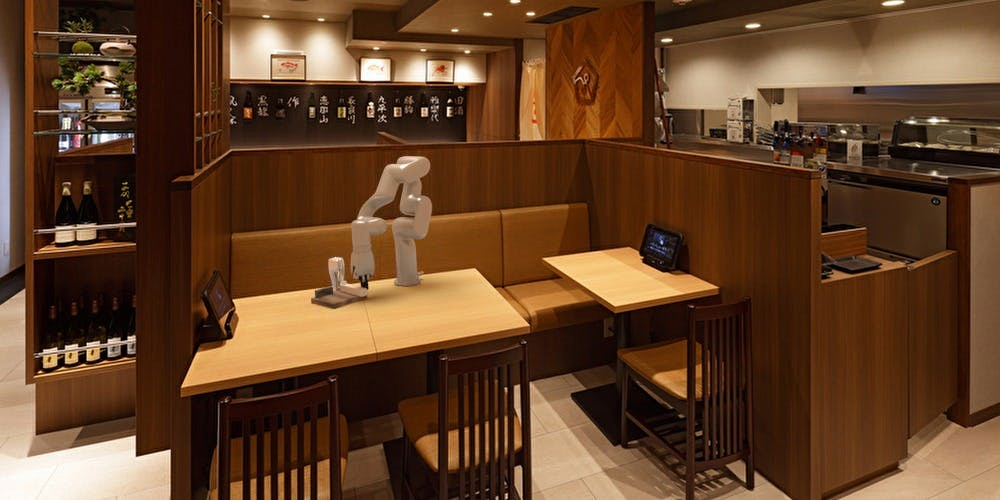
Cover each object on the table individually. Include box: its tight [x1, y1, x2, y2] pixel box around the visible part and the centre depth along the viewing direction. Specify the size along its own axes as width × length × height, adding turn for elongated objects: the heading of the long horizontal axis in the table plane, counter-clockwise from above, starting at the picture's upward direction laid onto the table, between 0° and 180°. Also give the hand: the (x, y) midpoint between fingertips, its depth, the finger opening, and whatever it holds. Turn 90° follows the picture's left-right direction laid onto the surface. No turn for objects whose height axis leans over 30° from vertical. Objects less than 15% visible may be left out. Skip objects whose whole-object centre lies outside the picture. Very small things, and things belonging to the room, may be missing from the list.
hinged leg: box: [340, 280, 368, 297], centre depth 247 cm, size 15×3×4 cm, turn 52°
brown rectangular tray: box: [310, 285, 368, 310], centre depth 244 cm, size 18×15×5 cm
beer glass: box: [327, 256, 345, 292], centre depth 258 cm, size 7×7×15 cm
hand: (364, 289), depth 247 cm, fingers closed
